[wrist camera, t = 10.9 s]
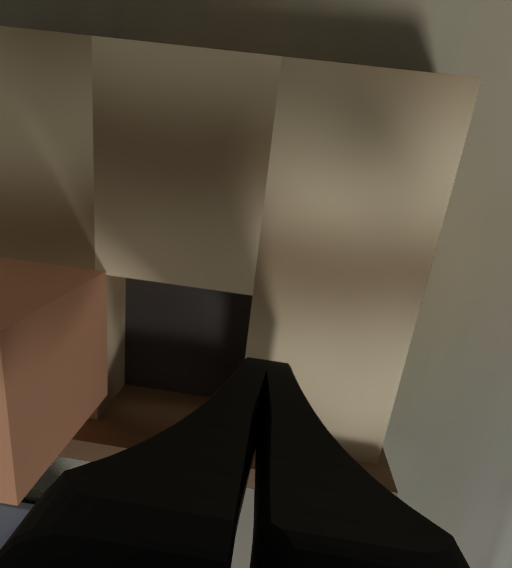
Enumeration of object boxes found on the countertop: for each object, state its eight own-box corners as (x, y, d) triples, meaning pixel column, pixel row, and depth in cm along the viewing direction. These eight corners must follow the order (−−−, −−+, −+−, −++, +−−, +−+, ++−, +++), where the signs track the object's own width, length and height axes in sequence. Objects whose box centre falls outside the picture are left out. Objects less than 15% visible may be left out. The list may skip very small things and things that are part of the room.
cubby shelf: (369, 435, 15) (392, 512, 12) (-195, 347, 17) (-319, 393, 13) (463, 69, 11) (538, 26, 8) (-296, -13, 13) (-516, -81, 9)
